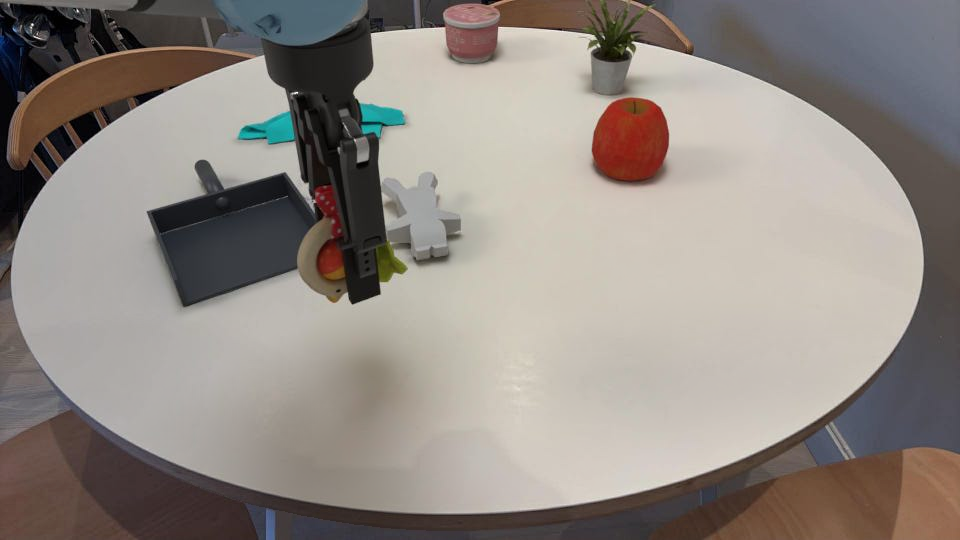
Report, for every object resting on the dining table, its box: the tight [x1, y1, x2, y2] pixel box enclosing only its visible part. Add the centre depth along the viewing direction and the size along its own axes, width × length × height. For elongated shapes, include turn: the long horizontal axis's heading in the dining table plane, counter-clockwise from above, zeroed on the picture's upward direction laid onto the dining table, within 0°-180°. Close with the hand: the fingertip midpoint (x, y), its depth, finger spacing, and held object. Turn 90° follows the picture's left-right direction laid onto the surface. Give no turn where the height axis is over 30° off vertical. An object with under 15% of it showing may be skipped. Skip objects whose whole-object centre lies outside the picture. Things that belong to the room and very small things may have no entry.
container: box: [442, 3, 501, 64], centre depth 131 cm, size 10×10×8 cm
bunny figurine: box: [380, 171, 462, 261], centre depth 90 cm, size 10×5×15 cm
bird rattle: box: [297, 185, 409, 304], centre depth 59 cm, size 6×11×9 cm
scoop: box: [146, 159, 317, 308], centre depth 91 cm, size 27×18×4 cm
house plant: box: [577, 0, 658, 96], centre depth 118 cm, size 14×14×16 cm
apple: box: [591, 96, 670, 182], centre depth 99 cm, size 11×11×11 cm
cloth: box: [237, 102, 406, 145], centre depth 113 cm, size 26×14×2 cm, turn 93°
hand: (351, 277), depth 63 cm, fingers closed on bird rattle, 5 cm apart
